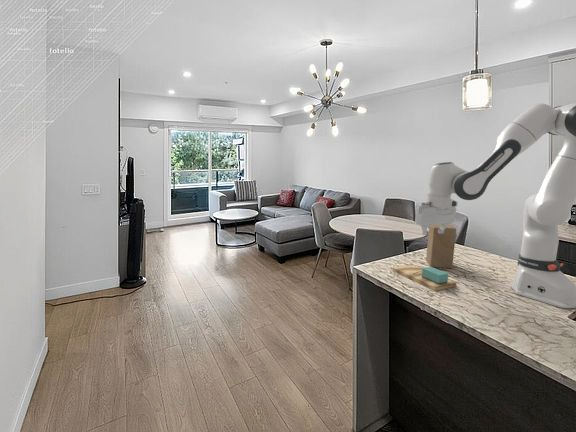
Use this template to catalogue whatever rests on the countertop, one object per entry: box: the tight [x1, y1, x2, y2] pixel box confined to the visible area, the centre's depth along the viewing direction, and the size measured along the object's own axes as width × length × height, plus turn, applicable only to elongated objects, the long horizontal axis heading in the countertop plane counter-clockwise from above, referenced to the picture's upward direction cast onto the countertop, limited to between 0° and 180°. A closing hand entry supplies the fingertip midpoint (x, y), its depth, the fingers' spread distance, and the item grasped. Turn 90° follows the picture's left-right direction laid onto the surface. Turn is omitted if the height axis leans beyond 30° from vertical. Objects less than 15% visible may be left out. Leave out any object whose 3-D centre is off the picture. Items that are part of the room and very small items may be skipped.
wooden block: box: [425, 223, 457, 269], centre depth 155 cm, size 10×10×20 cm
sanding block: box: [421, 266, 449, 285], centre depth 133 cm, size 9×5×4 cm, turn 23°
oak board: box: [392, 264, 458, 291], centre depth 139 cm, size 25×12×2 cm, turn 23°
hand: (433, 234), depth 131 cm, fingers open, 8 cm apart
